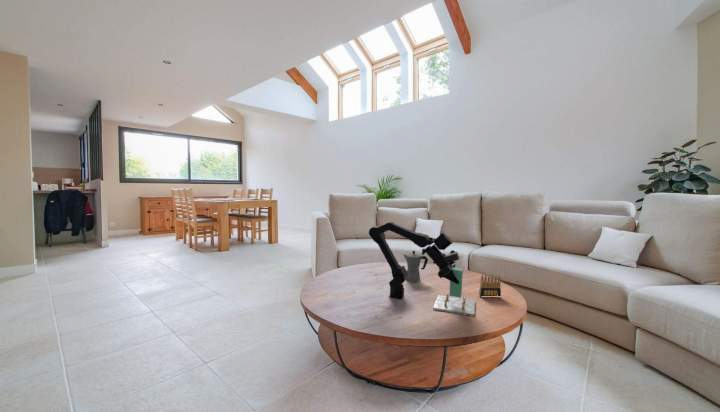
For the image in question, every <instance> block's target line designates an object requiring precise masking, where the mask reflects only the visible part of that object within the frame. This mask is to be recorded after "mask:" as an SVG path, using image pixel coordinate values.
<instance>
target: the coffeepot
mask: <svg viewBox="0 0 720 412" xmlns="http://www.w3.org/2000/svg"><path fill="white" fill-rule="evenodd" d="M402 256H403V258H405V260H406V265H407V268H406V271H407V272H408V273H407V274H408V277H407V279H406V280H405V281H407V282H409V281H410V283H418V281H419V282H420V281H421V275H420V270H425V268H426V267H427V264H428V261H429V259H428V257H427V256H426V255H422V254H417V253H416V251H415V250H412V253H410V254H408V253H407V254H406V253H405V254H403V255H402ZM421 260H424V262H423V265H422V267H420V266H421Z"/></svg>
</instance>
